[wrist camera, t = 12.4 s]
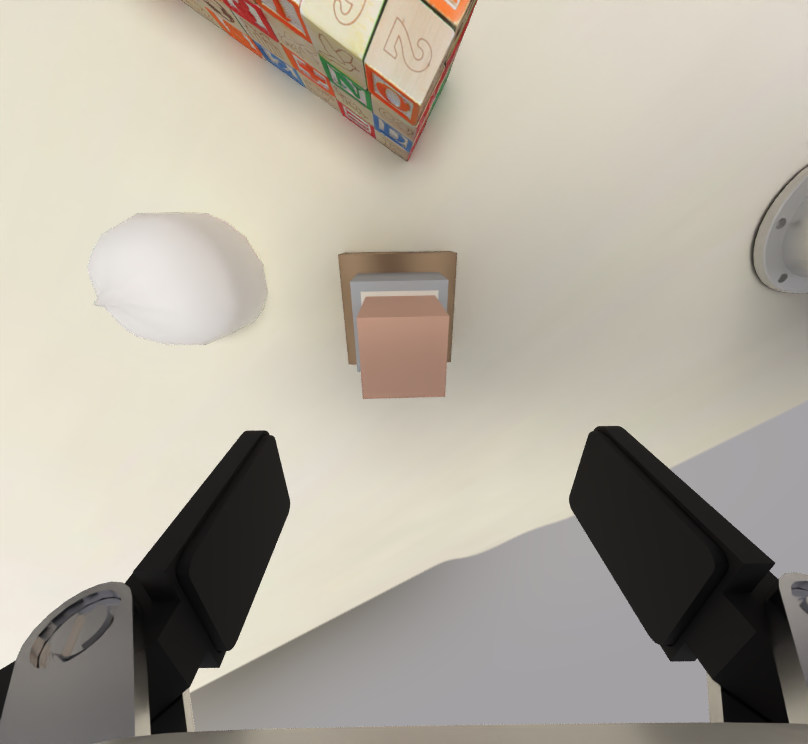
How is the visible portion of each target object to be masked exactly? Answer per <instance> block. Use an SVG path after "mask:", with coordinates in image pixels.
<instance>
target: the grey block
mask: <svg viewBox="0 0 808 744" xmlns="http://www.w3.org/2000/svg"><path fill="white" fill-rule="evenodd" d="M448 281H449V280H448V279H447V278H445V277H444V276H443V275H442V274H440V273H439V272H408V273H357V274H356V276H355V277H354V278H353V279H352V280H351V281H350V288H351V300H352V311H353V323H354V335H355V347H356V359H357V371H358V372H361V367H360V355H359V342H358V329H357V316H358V313H359V311H360V309H361V306H362V304H363V302H364V299H365V297H368V296H425V295H435V296H436V297H437V299H438V300H439V302H440V303H441V305H442V306H443V308H444V309H445V311H446V312H447V300H448Z"/></svg>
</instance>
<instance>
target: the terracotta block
mask: <svg viewBox="0 0 808 744" xmlns="http://www.w3.org/2000/svg"><path fill="white" fill-rule="evenodd" d="M357 329H358V342H359V355H360V367H361V380H362V392H363V399H374V398H411V397H445V386H446V368H447V349H448V330H449V315H448V313H447V312H446V311H445V309H444V308H443V306H442V305H441V303H440V302H439V300H438V299H437V297H436V296H435V295H425V296H368V297H365V299H364V302H363V304H362V306H361V309H360V311H359V313H358V316H357Z"/></svg>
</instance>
